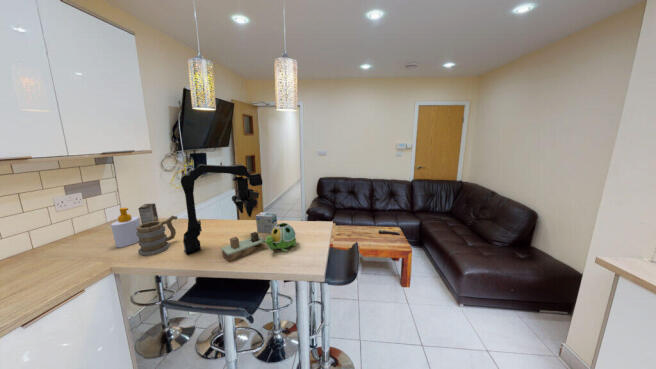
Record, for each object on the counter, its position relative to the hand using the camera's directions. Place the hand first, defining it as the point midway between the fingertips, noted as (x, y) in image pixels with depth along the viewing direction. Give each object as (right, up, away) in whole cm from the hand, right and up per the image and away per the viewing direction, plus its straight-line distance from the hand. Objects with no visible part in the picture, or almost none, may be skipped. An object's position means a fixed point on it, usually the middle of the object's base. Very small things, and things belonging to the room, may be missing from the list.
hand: (245, 214), depth 134 cm
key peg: (+8, -16, -9) cm, 20 cm away
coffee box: (-67, -12, +20) cm, 71 cm away
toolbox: (+4, -17, -13) cm, 22 cm away
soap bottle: (-66, -16, +2) cm, 68 cm away
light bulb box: (+9, -11, +12) cm, 19 cm away
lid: (+4, -14, -14) cm, 20 cm away
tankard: (-44, -17, -4) cm, 47 cm away
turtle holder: (+22, -16, -9) cm, 29 cm away
